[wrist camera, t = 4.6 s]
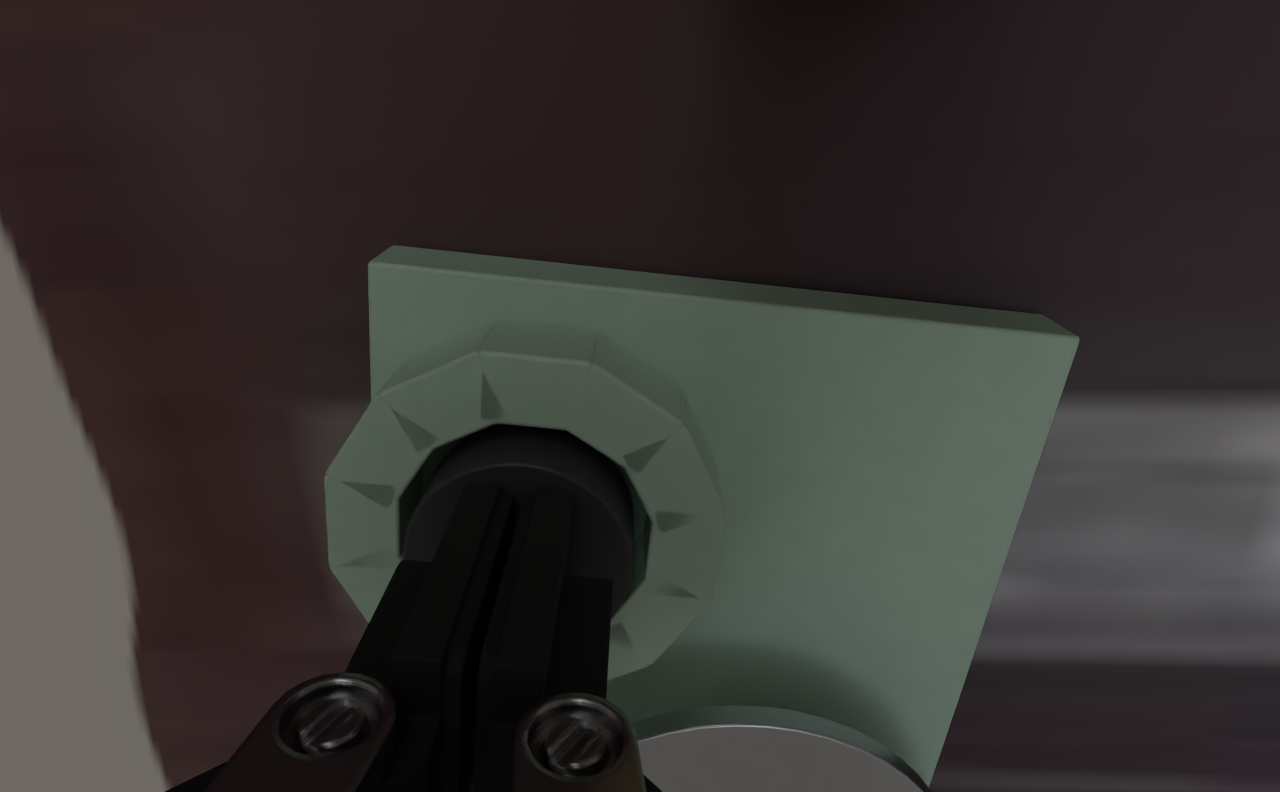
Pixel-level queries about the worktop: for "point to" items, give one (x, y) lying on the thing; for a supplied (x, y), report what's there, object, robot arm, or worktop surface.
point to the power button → (522, 470)
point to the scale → (729, 468)
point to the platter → (765, 753)
